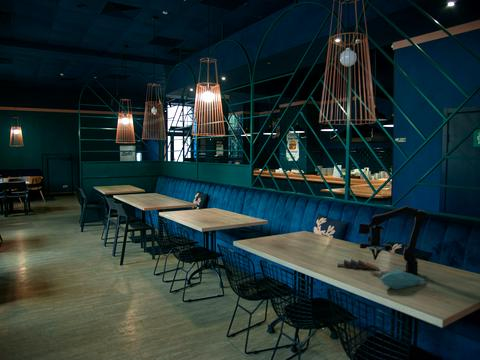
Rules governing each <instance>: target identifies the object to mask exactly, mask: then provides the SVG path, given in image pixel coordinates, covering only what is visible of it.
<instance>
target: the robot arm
mask: <svg viewBox="0 0 480 360" xmlns="http://www.w3.org/2000/svg"><path fill="white" fill-rule="evenodd" d="M405 214H408V215H410V216H413V217H414V225H413V229H412V230H411V235H410V238H409V242H408V244H407V247H406V246H404V248H403V251H402V256H403V259H404V260H405V270H404V271H403V272H406V273H410V274H413V275H415V276H419V275H420V273H418V272H419V268H418V267H419V265H418V264H419V262H418V259H417V258H416V257H415V255H416V254H415V253H416V246H417V242H418V239H419V236H420V232H421V229H422V227H423V225H424V224H425V221H427V220H426V219H427V217H428V215H427V213H426V211H425V210H423V209H417V208H414V207H410V206H409V205H404V206H403V207H400V208H397V209H394V210H392V211H388V212H385V213H380V214H374V215H373V216H372V217H371V220H370V221H369V223H364V222H363V223H362V222H360V223H359V227H358V234H359V235H367V239H366V240H367V242H363V241H360V242H359V249H363V250H364V249H365V250H366V249H367V248H368V249H369V251H371V253H372V257H373V260H375V261H376V260H377V258H378V257H379V254H380V253H381V252H383V249H385V251H390V252H391V251H393V246H392V244H390V243H384V244H381V240H382V238H381V237H382V230H385V227H384V226H383V223H385V222H386V221H388V220H391V219H394V218H397V217H398V216H402V215H405ZM369 234H370V236H368V235H369Z"/></svg>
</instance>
